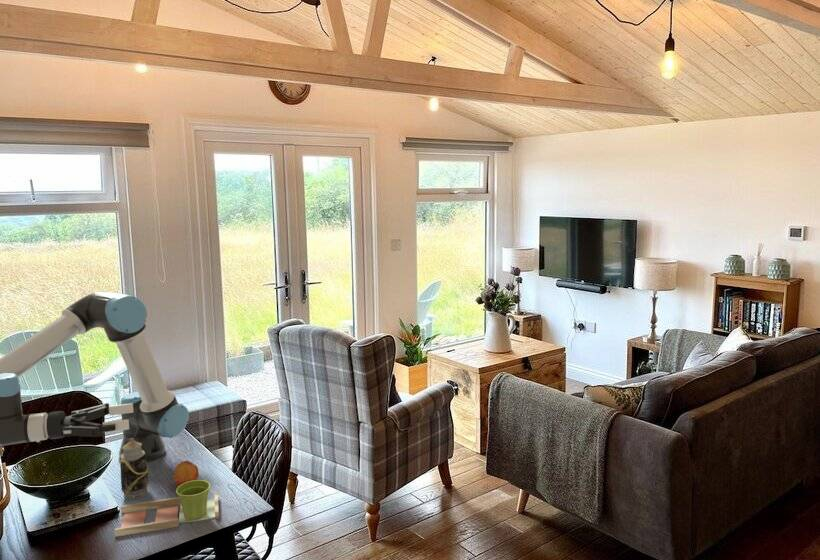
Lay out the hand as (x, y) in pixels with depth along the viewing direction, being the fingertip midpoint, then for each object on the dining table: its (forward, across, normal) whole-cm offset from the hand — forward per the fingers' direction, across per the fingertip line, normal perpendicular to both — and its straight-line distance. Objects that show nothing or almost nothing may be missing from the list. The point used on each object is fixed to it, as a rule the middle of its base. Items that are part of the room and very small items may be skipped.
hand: (131, 415), depth 181 cm
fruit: (+13, -11, -30) cm, 35 cm away
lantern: (-2, -11, -30) cm, 32 cm away
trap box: (+9, +6, -30) cm, 32 cm away
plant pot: (+16, +9, -30) cm, 35 cm away
